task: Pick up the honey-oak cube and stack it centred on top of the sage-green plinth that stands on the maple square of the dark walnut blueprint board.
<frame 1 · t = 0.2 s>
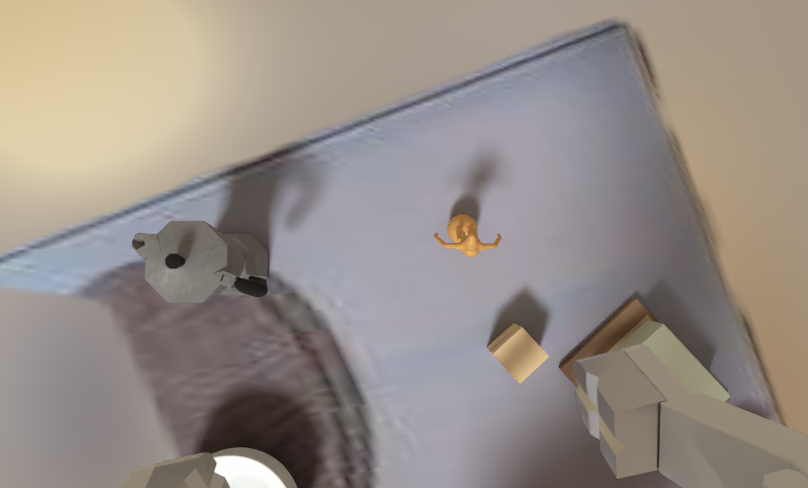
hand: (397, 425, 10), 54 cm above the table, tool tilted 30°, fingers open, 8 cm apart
figurine: (460, 237, 64), on the table
oak cube: (512, 348, 63), on the table
coffeepot: (245, 267, 65), on the table
plinth block: (645, 384, 62), point 1 cm above the table, touching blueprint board
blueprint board: (641, 382, 63), on the table
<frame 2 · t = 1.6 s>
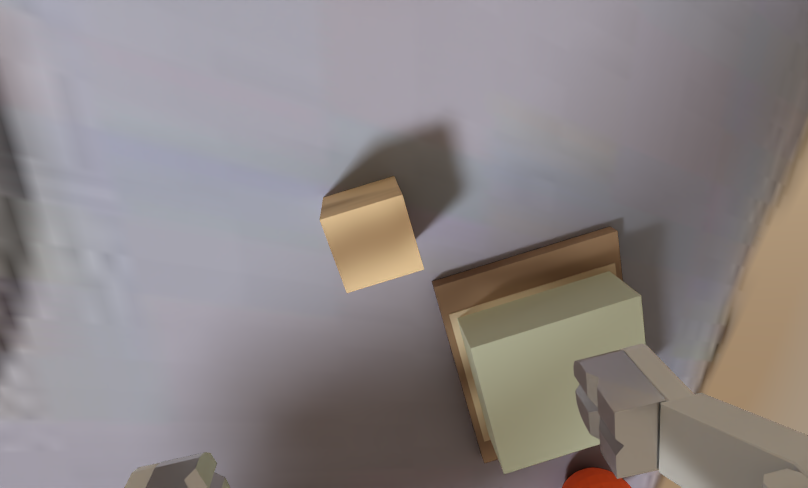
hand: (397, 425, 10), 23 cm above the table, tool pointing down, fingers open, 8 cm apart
oak cube: (369, 219, 32), on the table
clementine: (585, 476, 44), on the table
plinth block: (545, 358, 37), point 1 cm above the table, touching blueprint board
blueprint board: (540, 350, 38), on the table
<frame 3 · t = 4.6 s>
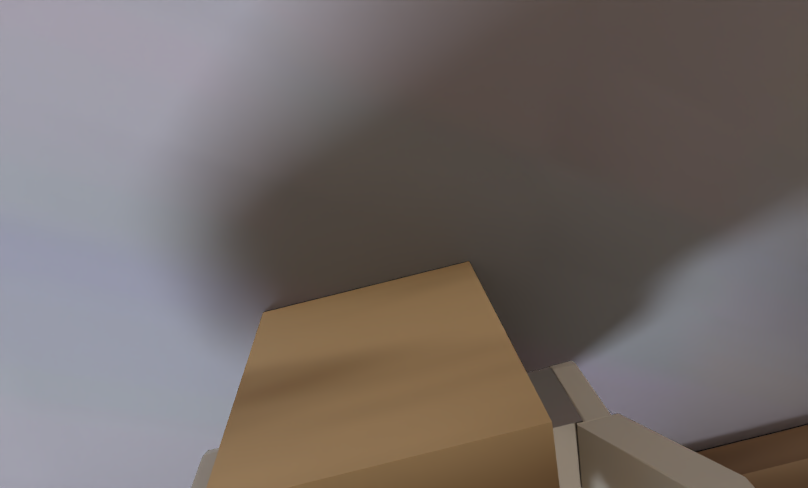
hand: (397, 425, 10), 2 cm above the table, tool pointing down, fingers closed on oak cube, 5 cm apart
oak cube: (390, 368, 12), on the table, touching gripper
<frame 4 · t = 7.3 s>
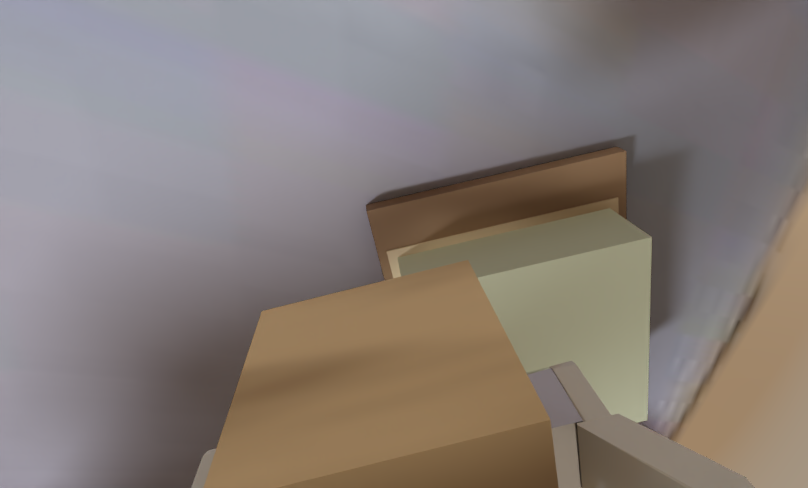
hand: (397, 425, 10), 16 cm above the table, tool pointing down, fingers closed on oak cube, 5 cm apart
oak cube: (389, 367, 12), point 14 cm above the table, touching gripper
plinth block: (514, 321, 28), point 1 cm above the table, touching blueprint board
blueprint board: (509, 311, 29), on the table
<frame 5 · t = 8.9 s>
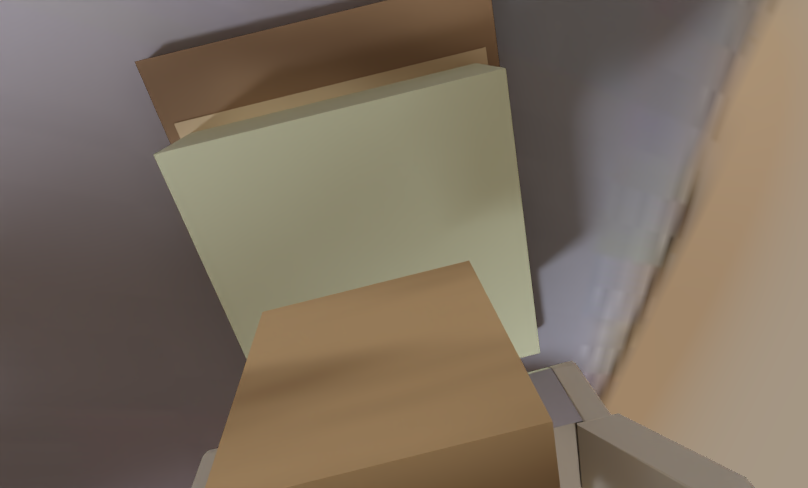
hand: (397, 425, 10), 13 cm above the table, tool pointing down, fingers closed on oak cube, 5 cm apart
oak cube: (390, 367, 12), point 11 cm above the table, touching gripper
plinth block: (369, 229, 21), point 1 cm above the table, touching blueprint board
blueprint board: (369, 221, 22), on the table
when the fingers open (8 cm above the table, at t = 10.2 s): oak cube drops 1 cm, resting on plinth block.
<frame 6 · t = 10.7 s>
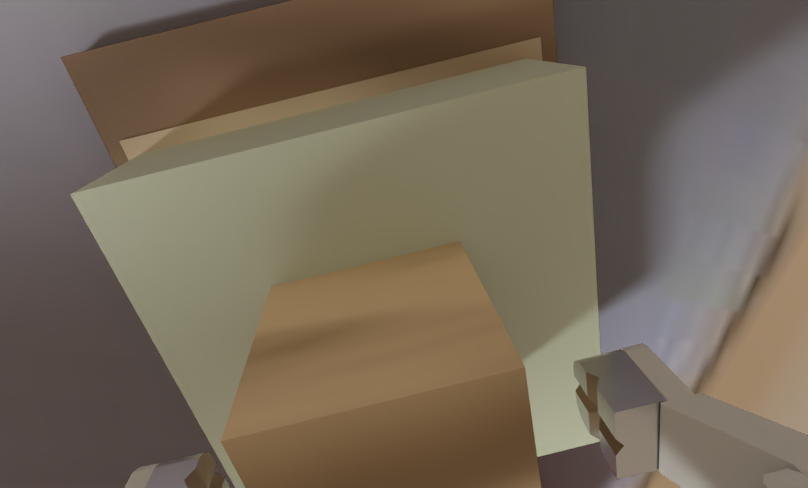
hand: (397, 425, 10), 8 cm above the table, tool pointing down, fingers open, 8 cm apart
oak cube: (387, 341, 13), point 5 cm above the table, touching plinth block
plinth block: (381, 274, 17), point 1 cm above the table, touching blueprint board, oak cube
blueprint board: (379, 260, 18), on the table
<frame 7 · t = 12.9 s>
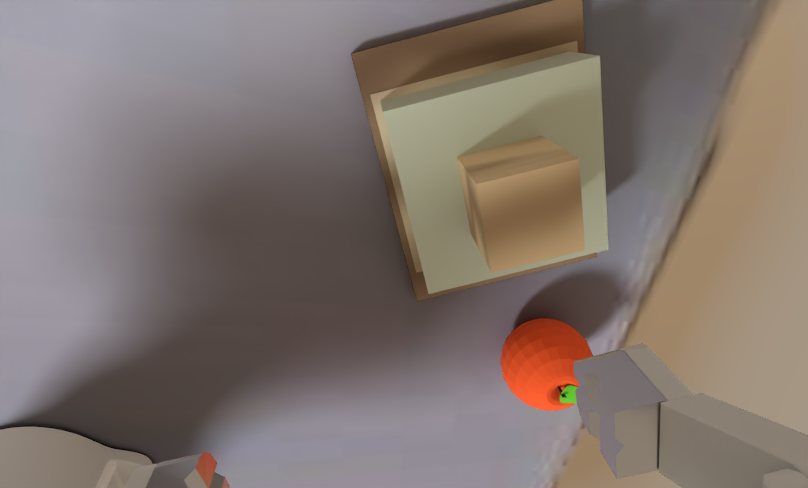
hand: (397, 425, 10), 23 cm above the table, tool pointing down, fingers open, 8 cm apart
oak cube: (505, 186, 28), point 5 cm above the table, touching plinth block
clementine: (536, 335, 39), on the table
plinth block: (489, 168, 31), point 1 cm above the table, touching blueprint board, oak cube
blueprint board: (485, 163, 32), on the table
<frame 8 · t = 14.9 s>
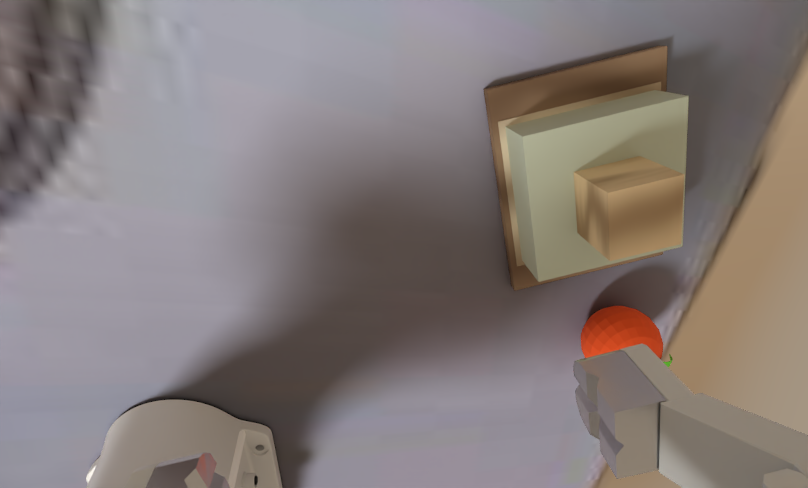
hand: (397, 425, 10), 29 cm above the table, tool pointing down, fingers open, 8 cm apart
oak cube: (607, 195, 35), point 5 cm above the table, touching plinth block
clementine: (606, 321, 47), on the table
plinth block: (584, 180, 39), point 1 cm above the table, touching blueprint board, oak cube
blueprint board: (578, 176, 40), on the table
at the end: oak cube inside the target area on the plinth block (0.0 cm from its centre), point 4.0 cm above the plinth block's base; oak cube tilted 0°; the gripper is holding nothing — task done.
